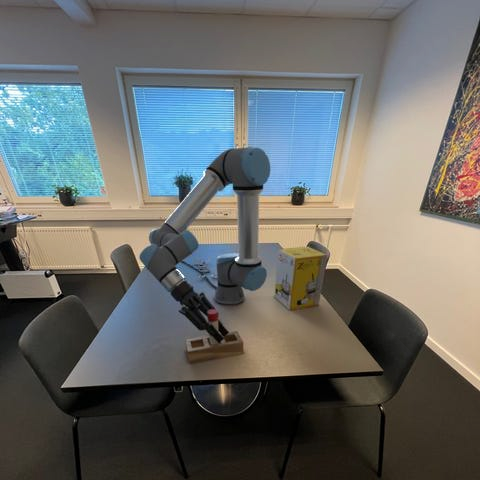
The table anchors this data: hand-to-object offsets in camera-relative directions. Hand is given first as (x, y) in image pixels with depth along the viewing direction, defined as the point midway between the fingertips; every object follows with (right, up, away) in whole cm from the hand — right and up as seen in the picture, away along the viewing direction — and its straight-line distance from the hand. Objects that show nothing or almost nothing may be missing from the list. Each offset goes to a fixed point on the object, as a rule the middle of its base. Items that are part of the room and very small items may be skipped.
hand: (223, 337), depth 90 cm
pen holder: (-4, -6, +5) cm, 8 cm away
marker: (-4, -3, +4) cm, 6 cm away
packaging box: (+34, +16, +42) cm, 57 cm away
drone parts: (-12, +39, +82) cm, 92 cm away
